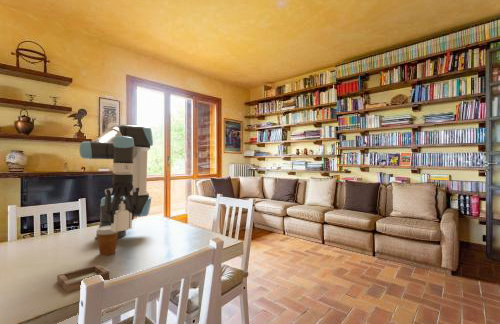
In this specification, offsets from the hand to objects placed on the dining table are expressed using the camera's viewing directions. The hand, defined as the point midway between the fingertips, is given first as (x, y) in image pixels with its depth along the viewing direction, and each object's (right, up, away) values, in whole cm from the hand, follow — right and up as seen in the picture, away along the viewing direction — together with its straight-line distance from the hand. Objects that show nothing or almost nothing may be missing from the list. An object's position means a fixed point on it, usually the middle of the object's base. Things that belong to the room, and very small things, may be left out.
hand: (121, 229), depth 104 cm
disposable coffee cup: (-14, -15, +14) cm, 25 cm away
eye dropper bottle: (0, -1, 0) cm, 1 cm away
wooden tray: (-7, -15, -13) cm, 21 cm away
